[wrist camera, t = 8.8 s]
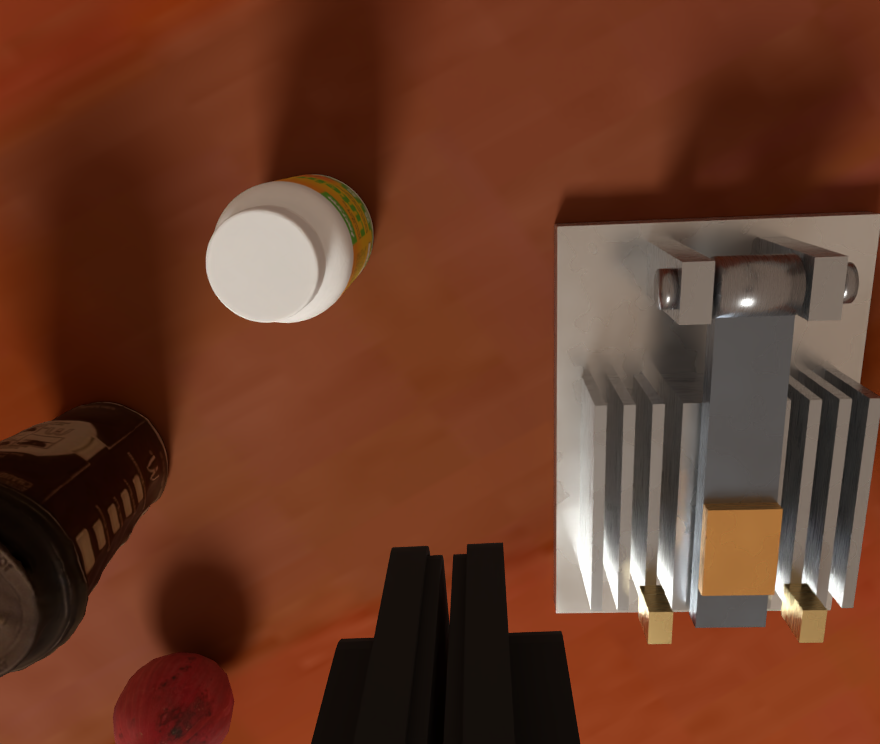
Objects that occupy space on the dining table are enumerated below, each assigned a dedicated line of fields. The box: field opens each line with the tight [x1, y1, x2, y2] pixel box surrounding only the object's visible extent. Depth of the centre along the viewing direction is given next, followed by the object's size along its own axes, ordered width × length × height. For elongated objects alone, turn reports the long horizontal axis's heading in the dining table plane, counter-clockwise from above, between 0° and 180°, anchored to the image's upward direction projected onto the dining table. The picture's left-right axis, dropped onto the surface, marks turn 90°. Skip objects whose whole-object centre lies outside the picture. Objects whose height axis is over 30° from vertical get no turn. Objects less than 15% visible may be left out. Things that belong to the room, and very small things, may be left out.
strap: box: [689, 253, 806, 628], centre depth 31 cm, size 16×3×2 cm, turn 3°
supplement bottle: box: [206, 174, 374, 323], centre depth 31 cm, size 5×5×10 cm
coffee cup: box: [0, 402, 168, 677], centre depth 33 cm, size 9×8×13 cm
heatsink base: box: [554, 211, 880, 644], centre depth 34 cm, size 20×14×7 cm
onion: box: [113, 652, 234, 744], centre depth 39 cm, size 6×6×8 cm
